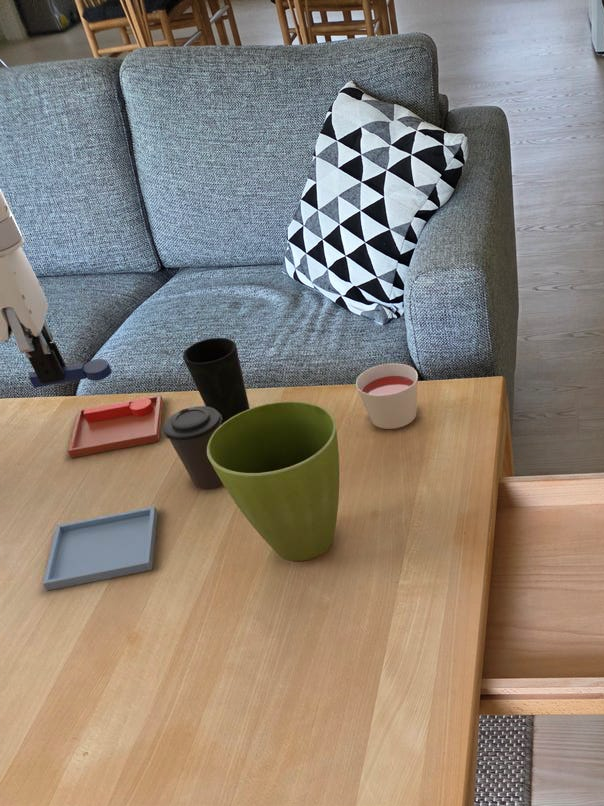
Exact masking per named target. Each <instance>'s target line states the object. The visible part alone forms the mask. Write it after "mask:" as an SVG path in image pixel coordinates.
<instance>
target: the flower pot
mask: <svg viewBox="0 0 604 806" xmlns="http://www.w3.org/2000/svg"><path fill="white" fill-rule="evenodd" d="M207 456H208V458H209V460H210V462H211V464H212V466H213V468H214V469H215V471H216V473H217V475H218V476H219V478H220V480H221V481H222V483H223V487H224V489H225V490H226V492H227V493H228V494H229V496H230V497H231V499H232V501H233V502H234V503H235V505H236V506H237V508H238V510H240V512H241V513H242V515H243V516H244V517H245V518H246V519H247V521H248V522H249V524H250V525H251V526H252V528H253V529H254V530H256V532H257V534H259V536H260V537H261V538H262V539H263V540H264V541H265V543H267V544H268V545H269V547H270V548H271V549H272V550H273V551H274V552H275V553H277V555H279V556H280V557H281V558H282V559H284V560H287V561H292V562H305V561H310V560H312V559H316V558H317V557H319V556H321V555H323V554H325V553H326V552H327V551H328V550H329V548H330V547H331V546H332V545H333V543H334V538H335V532H336V527H337V521H338V520H337V519H338V511H339V499H340V497H339V496H340V453H339V441H338V431H337V422H336V419H335V418H334V416H333V415H332V414H331V412H329V411H328V410H327V409H325V408H324V407H322V406H320V405H317V404H314V403H312V402H311V403H310V402H304V401H296V400H295V401H294V400H290V401H288V400H287V401H286V400H285V401H277V402H276V401H275V402H270V403H265V404H261V405H258V406H254V407H251V408H250V409H248V410H246V411H244V412H241V413H239V414H237V415H235V416H234V417H232V418H230V419H229V420H227V421H226V422H224V423H223V424H222V425H221V426H219V427H218V428H217V429H216V431H215V432H214V433H213V434H212V436H211V438H210V440H209V442H208V446H207Z"/></svg>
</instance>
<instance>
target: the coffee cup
mask: <svg viewBox="0 0 604 806" xmlns="http://www.w3.org/2000/svg"><path fill="white" fill-rule="evenodd" d="M221 422H222V415H221V414H220V413H219V412H218V411H217V410H216V409H214V408H212V407H207V406H205V405H198V406H197V405H196V406H191V407H187V408H183V409H181V410H178V411H176V412H174V413H173V414H171V415H170V416H168V417H167V419H166V420H165V421H164V422H163V425H162V435H163V436H164V437H165V438H166V439H167V440H169V441H170V444H171V445H172V446H173V449H174V451H175V452H176V454H177V456H178V458H179V459H180V461H181V463H182V465H183V466H184V468H185V470H186V472H187V474H188V476H189V477H190V479H191V481H192V483H193V485H194V486H195V487H196V488H197V489H199V490H215V489H218V488H220V487H224V485H223V483H222V481H221V480H220V478H219V476H218V475H217V473H216V471H215V469H214V468H213V466H212V464H211V462H210V460H209V458H208V456H207V446H208V442H209V440H210V438H211V436H212V434H213V433H214V432H215V431H216V429H217V428H218V427H219V426H221Z"/></svg>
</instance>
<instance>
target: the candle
mask: <svg viewBox="0 0 604 806" xmlns="http://www.w3.org/2000/svg"><path fill="white" fill-rule="evenodd" d="M418 376H419V375H418V372H417V370H416V369H415V368H414V367H412V366H410V365H408V364H404V363H397V362H396V363H395V362H393V363H383V364H379V365H375V366H371V367H370V368H367V369H366V370H364V371H363V372H362V373H360V374H359V375H358V377H357V378H356V380H355V387H356V390H357V392H358V394H359V396H360V398H361V401H362V403H363V406H364V408H365V410H366V413H367V415H368V417H369V420H370V422H371V423H372V424H373V425H374V426H375V427H377V428H379V429H383V430H384V429H385V430H395V429H400V428H403V427H405V426H407V425H409V424H410V423H412V422H413V421H414V420H415V418H416V416H417V413H418V380H419V377H418Z"/></svg>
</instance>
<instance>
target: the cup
mask: <svg viewBox="0 0 604 806" xmlns="http://www.w3.org/2000/svg"><path fill="white" fill-rule="evenodd" d="M182 360H183V362H184V364H185V366H186V367H187V370H188V372H189V374H190V377H191V379H192V380H193V382H194V385H195V386H196V389H197V392H198V393H199V395H200V397H201V399H202V401H203V404H204V406H207V407H212V408H214V409H216V410H217V411H218V412H219V413H220V414H221V415H222V422H221V425H222V424H223V423H224V422H226V421H227V420H229V419H230V418H232V417H234V416H235V415H237V414H239V413H241V412H244V411H246V410H248V409H251V408H250V403H249V399H248V395H247V390H246V385H245V380H244V376H243V371H242V367H241V362H240V356H239V354H238V348H237V343H236V342H235V341H234V340H231V339H229V338H226V337H214V338H213V337H212V338H207V339H203V340H200V341H198V342H195V343H193V344H191V345H190V346H189V347H187V348H185V350H184V352H183V354H182Z"/></svg>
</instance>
